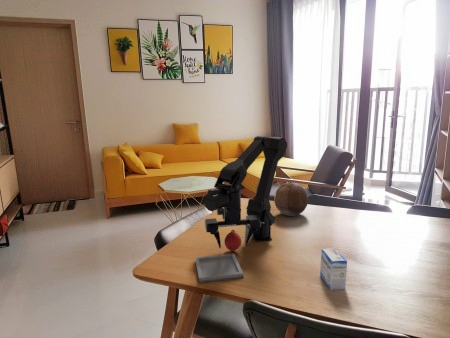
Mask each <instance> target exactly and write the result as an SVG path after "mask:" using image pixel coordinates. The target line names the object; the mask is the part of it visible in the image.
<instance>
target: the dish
mask: <svg viewBox="0 0 450 338" xmlns="http://www.w3.org/2000/svg"><path fill="white" fill-rule="evenodd" d="M195 265H196V266H195V267H196V270H197V271H196V272H197V275H198V282H199V283H200V284H202V283H210V282H218V281H229V280H235V279H244V272H243V270H242V268H241V265H240V263H239V261H238V259H237V256H236V255H235V253H234V252H233V253H225V254H217V255H207V256H196V257H195Z"/></svg>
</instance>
